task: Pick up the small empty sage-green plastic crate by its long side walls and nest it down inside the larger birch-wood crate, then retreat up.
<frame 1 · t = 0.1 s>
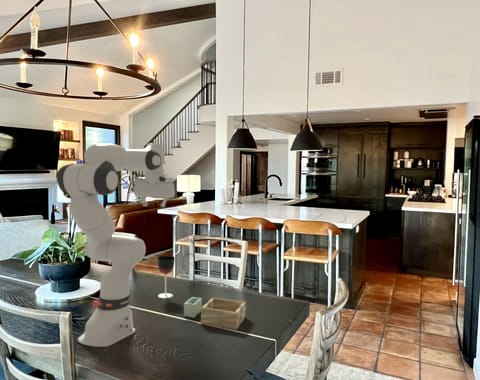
hand: (154, 206, 179), 48 cm above the table, fingers open, 8 cm apart
birch crate: (223, 320, 165), on the table
green crate: (193, 313, 172), on the table
wineglass: (165, 295, 195), on the table
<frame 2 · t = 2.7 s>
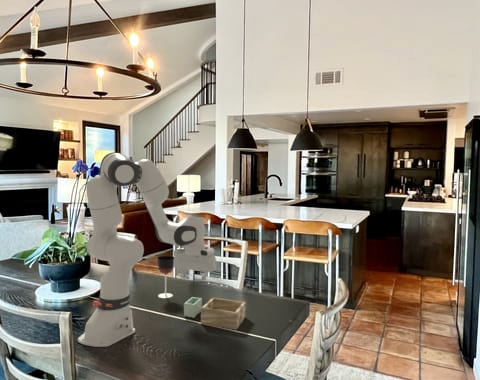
hand: (194, 279, 171), 16 cm above the table, fingers open, 8 cm apart
nothing on the table moved.
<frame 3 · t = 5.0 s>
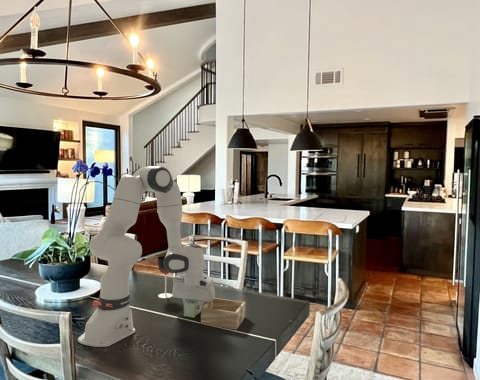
hand: (193, 308, 172), 2 cm above the table, fingers closed on green crate, 5 cm apart
green crate: (192, 313, 172), on the table, touching gripper
everything else where it was.
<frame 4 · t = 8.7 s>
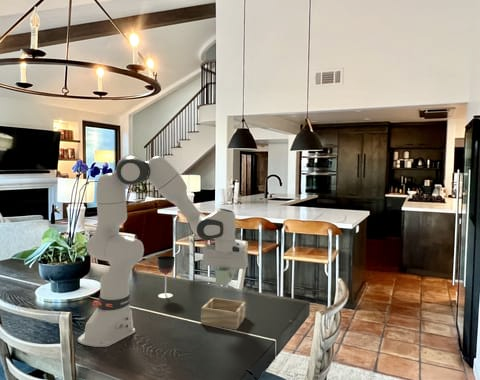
hand: (224, 276, 164), 20 cm above the table, fingers closed on green crate, 5 cm apart
green crate: (224, 281, 164), point 17 cm above the table, touching gripper
everything else where it was.
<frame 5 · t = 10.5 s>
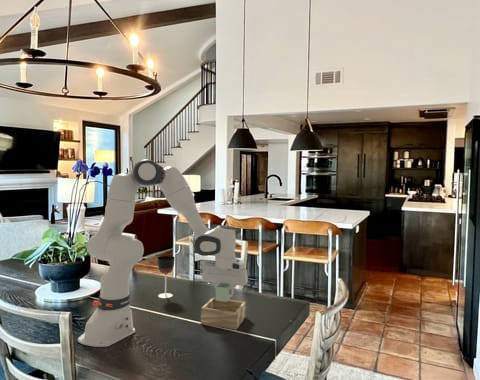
hand: (224, 293, 164), 12 cm above the table, fingers closed on green crate, 5 cm apart
green crate: (224, 297, 164), point 10 cm above the table, touching gripper
everything else where it was.
when the fingers open (5 cm above the table, at t = 12.2 s): green crate drops 2 cm, resting on birch crate.
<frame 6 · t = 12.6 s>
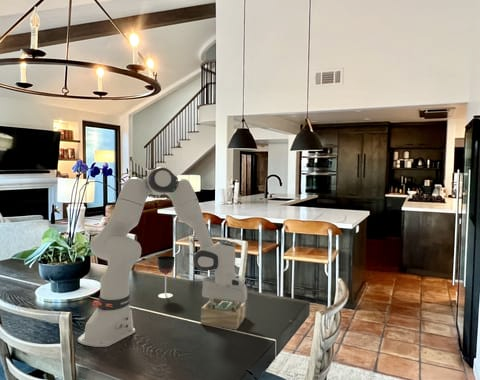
hand: (223, 309, 164), 5 cm above the table, fingers open, 8 cm apart
green crate: (223, 318, 165), point 1 cm above the table, touching birch crate
everything else where it was.
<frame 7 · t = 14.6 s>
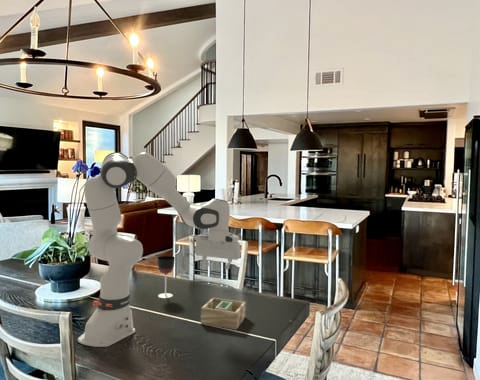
hand: (216, 267, 162), 24 cm above the table, fingers open, 8 cm apart
nothing on the table moved.
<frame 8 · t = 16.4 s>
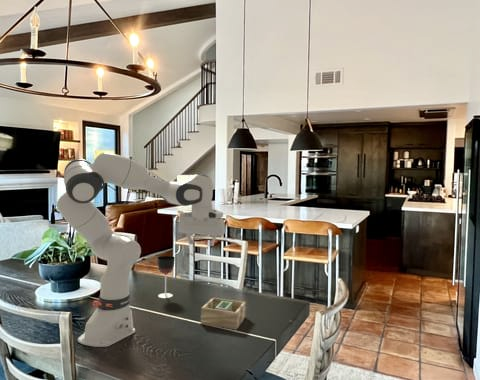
hand: (201, 244, 159), 34 cm above the table, fingers open, 8 cm apart
nothing on the table moved.
at the end: green crate 0.1 cm off-centre on the birch crate, point 1.0 cm above the birch crate's base; green crate tilted 0°; the gripper is holding nothing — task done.
